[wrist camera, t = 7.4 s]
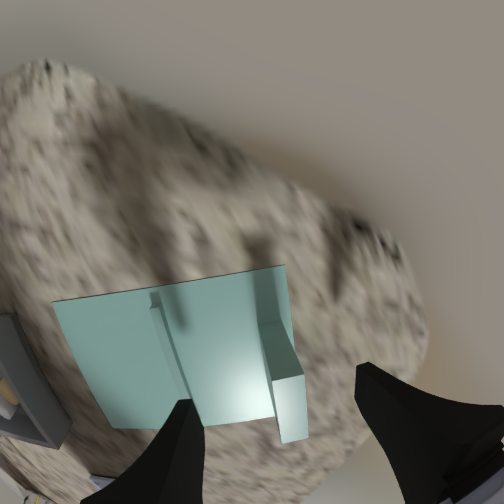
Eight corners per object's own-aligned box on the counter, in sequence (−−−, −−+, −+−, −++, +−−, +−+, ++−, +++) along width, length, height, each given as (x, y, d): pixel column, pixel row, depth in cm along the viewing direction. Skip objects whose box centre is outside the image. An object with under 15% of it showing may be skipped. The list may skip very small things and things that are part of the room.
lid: (298, 405, 16) (319, 464, 11) (114, 423, 15) (96, 476, 10) (282, 262, 14) (313, 303, 9) (56, 299, 13) (6, 340, 8)
